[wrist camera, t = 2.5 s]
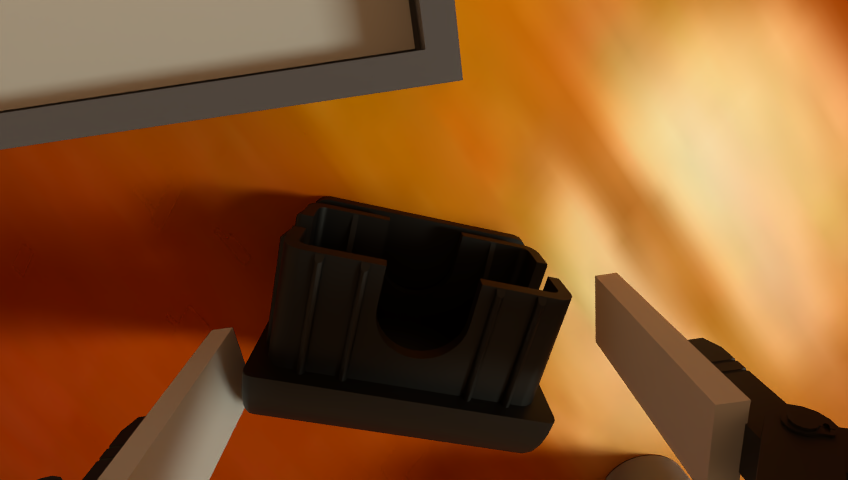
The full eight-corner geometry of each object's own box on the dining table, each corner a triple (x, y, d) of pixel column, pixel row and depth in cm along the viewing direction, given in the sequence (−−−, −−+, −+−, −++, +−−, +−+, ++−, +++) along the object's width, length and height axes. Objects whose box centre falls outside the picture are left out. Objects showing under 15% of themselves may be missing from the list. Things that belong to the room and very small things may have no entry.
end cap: (282, 337, 21) (230, 454, 14) (305, 190, 18) (254, 250, 12) (490, 373, 22) (528, 494, 15) (535, 238, 20) (601, 316, 13)
